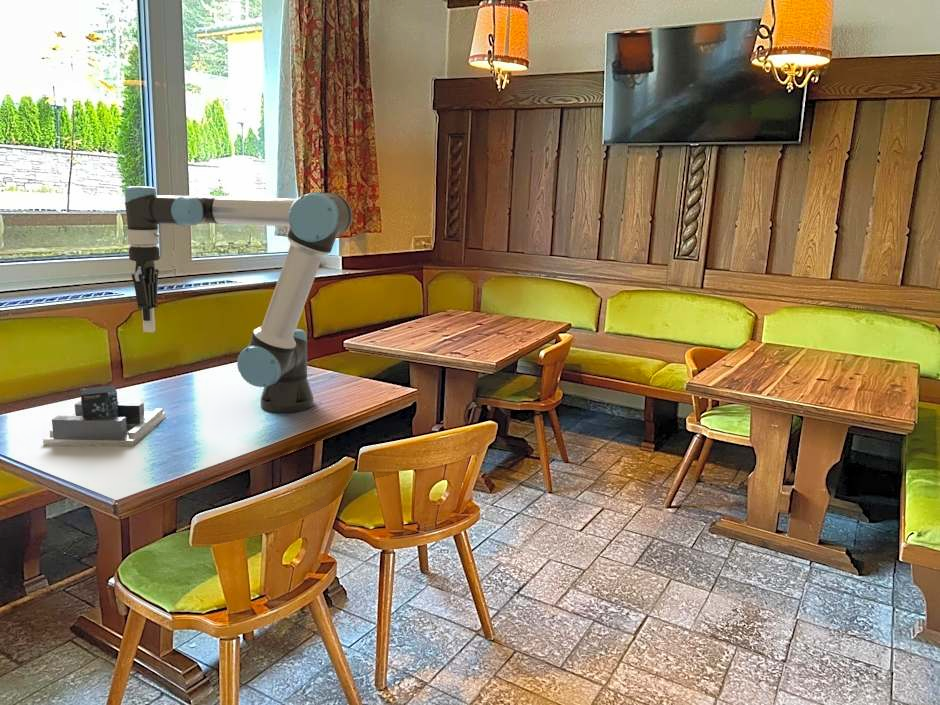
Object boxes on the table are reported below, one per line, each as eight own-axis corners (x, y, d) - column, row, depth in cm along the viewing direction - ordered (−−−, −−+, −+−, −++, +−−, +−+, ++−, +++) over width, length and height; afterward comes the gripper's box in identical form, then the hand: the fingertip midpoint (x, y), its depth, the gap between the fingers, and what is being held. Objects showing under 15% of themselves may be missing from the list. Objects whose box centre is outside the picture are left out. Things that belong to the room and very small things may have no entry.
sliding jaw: (144, 420, 184) (143, 402, 183) (140, 424, 181) (139, 405, 180) (81, 419, 183) (80, 400, 182) (76, 422, 180) (74, 404, 179)
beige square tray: (165, 417, 192) (164, 394, 191) (133, 446, 171) (131, 421, 169) (86, 415, 191) (84, 392, 189) (43, 445, 169) (40, 419, 168)
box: (84, 435, 172) (81, 394, 170) (83, 428, 177) (79, 388, 174) (120, 431, 176) (117, 390, 174) (117, 424, 181) (114, 384, 179)
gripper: (148, 248, 182) (154, 337, 187) (166, 243, 194) (171, 327, 200) (119, 247, 181) (125, 336, 187) (139, 242, 194) (144, 326, 199)
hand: (149, 331), depth 193 cm, fingers closed
